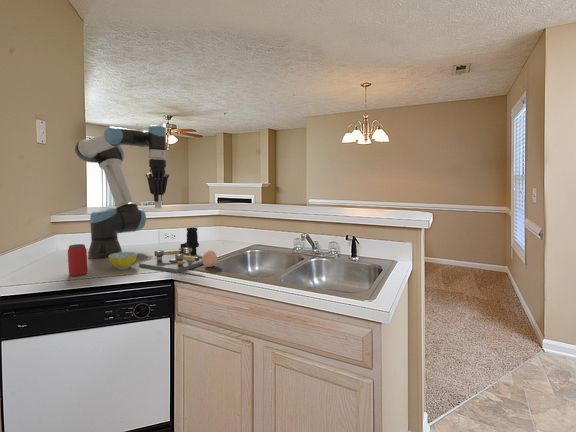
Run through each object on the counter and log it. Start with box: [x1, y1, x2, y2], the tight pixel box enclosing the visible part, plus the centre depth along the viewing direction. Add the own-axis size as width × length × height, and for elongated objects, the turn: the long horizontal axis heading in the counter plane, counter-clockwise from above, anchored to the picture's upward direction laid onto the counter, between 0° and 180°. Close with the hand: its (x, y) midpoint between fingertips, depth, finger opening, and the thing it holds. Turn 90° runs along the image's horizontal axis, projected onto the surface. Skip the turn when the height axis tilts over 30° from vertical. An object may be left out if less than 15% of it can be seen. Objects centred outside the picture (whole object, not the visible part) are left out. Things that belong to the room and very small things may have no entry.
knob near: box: [153, 249, 183, 262], centre depth 155 cm, size 12×4×5 cm, turn 111°
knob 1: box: [183, 247, 192, 256], centre depth 157 cm, size 12×4×5 cm, turn 15°
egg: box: [201, 249, 218, 268], centre depth 152 cm, size 7×7×8 cm
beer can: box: [67, 243, 89, 277], centre depth 137 cm, size 7×7×12 cm
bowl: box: [107, 251, 138, 271], centre depth 148 cm, size 11×12×6 cm
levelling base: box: [138, 254, 204, 274], centre depth 155 cm, size 22×20×2 cm
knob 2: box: [174, 254, 200, 266], centre depth 146 cm, size 12×4×5 cm, turn 66°
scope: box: [178, 227, 200, 256], centre depth 176 cm, size 8×14×10 cm
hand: (158, 208), depth 164 cm, fingers closed
